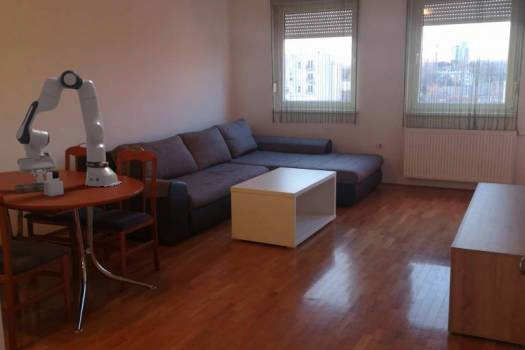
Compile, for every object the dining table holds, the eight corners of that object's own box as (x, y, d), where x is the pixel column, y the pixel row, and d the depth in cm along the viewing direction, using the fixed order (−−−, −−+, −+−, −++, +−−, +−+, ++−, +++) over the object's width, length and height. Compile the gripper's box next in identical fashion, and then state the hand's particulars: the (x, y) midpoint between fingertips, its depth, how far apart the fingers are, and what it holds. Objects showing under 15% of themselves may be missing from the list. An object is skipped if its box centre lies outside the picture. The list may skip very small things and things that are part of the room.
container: (56, 192, 305) (55, 170, 303) (63, 194, 300) (62, 171, 298) (43, 194, 299) (42, 171, 297) (51, 196, 294) (49, 173, 292)
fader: (42, 182, 315) (42, 169, 314) (45, 184, 311) (44, 170, 310) (35, 183, 313) (34, 170, 311) (37, 184, 309) (36, 171, 307)
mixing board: (50, 186, 321) (50, 181, 321) (55, 189, 312) (55, 184, 312) (15, 190, 310) (14, 184, 309) (19, 193, 301) (18, 187, 300)
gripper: (16, 155, 309) (21, 174, 303) (53, 153, 320) (58, 171, 314) (15, 162, 313) (20, 181, 307) (51, 159, 325) (57, 177, 319)
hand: (40, 176), depth 311 cm, fingers closed on fader, 3 cm apart
